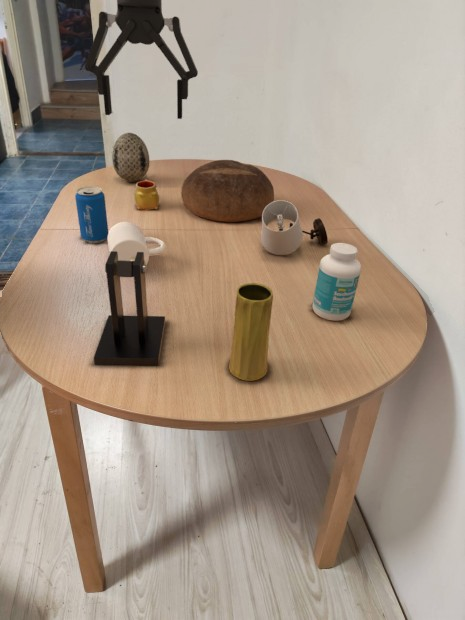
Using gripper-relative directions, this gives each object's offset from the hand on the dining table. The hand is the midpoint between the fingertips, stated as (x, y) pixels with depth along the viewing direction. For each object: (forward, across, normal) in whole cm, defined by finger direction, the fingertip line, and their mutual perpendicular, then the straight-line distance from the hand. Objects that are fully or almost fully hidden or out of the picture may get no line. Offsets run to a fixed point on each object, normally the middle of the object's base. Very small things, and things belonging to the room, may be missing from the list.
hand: (144, 116), depth 87 cm
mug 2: (+30, -5, +35) cm, 46 cm away
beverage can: (+30, -14, +9) cm, 35 cm away
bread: (+29, +18, +34) cm, 49 cm away
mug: (+30, -2, -3) cm, 31 cm away
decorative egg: (+29, -12, +56) cm, 64 cm away
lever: (+20, +1, -28) cm, 35 cm away
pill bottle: (+30, +37, -21) cm, 52 cm away
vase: (+31, +20, -38) cm, 53 cm away
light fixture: (+30, +34, +6) cm, 45 cm away
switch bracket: (+31, +1, -32) cm, 44 cm away
